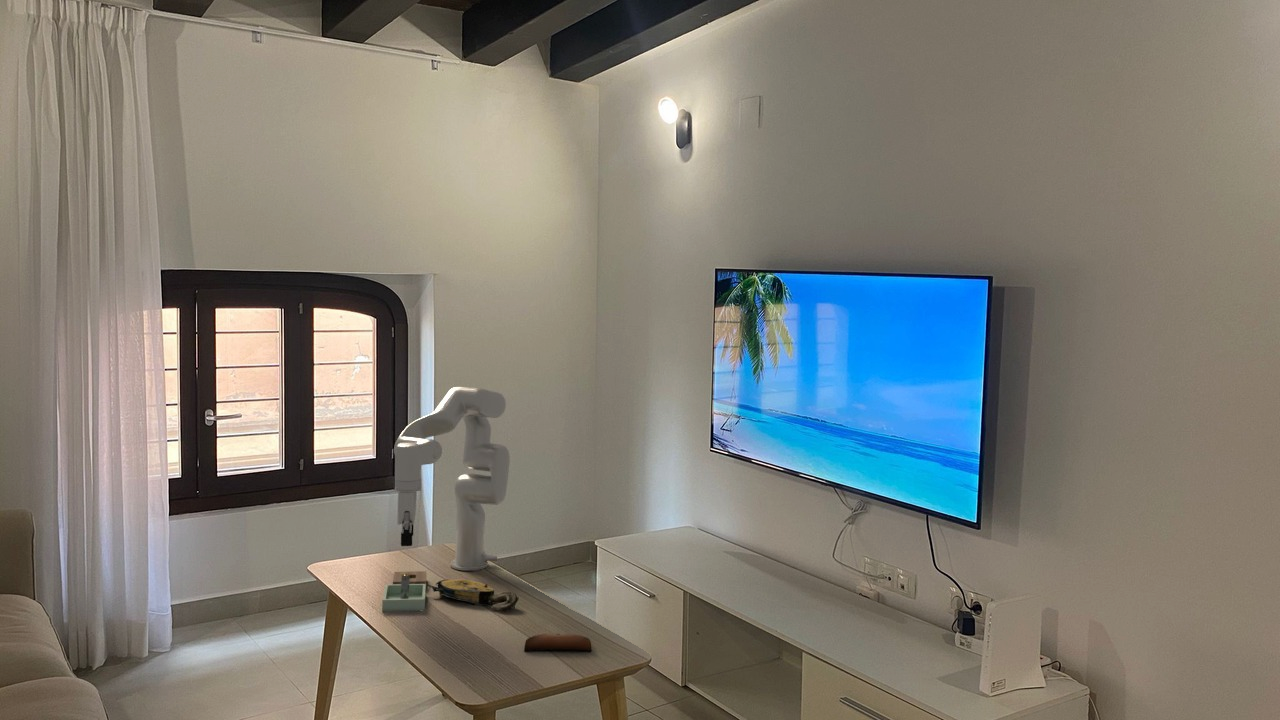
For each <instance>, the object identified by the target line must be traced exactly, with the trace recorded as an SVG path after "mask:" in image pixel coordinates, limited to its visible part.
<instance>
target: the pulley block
mask: <svg viewBox="0 0 1280 720" xmlns="http://www.w3.org/2000/svg"><path fill="white" fill-rule="evenodd" d="M427 587H428V588H431V589H432V592H438V593H439V594H438V595H439V596H440V597H442V596H445V597H447V598H449V599H453V600H458V601H463V602H466V603H472V605H481V606H485V607H486V606H491V609H492V610H495V611H500V612H506V611H510V610H513V609H515V608H516V605H517V603H518V601H519V596H517V594H516V593H515V592H513V591H503V592H498V593H495V588H493V587H491V586H490V585H488V584H487V583H486V584H484V583H481V582H478V581H474V580H470V579H465V578H464V579H462V578H455V579H440V580H439V581H437V582H436V583H435V586H434V585H431V584H428V585H427ZM494 603H495V604H494Z"/></svg>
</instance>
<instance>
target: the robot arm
mask: <svg viewBox="0 0 1280 720" xmlns="http://www.w3.org/2000/svg"><path fill="white" fill-rule="evenodd" d="M506 405H507V403H506V398H505V397H504V395H503V394H502V393H500V392H498V391H493V390H488V389H484V388H481V387H480V388H479V387H471V386H469V387H468V386H454V387H452V388H450V389H449V390H448V391H447V393H446V394H445V395H444V396H443V398H442V399H441V400H440V402H439V403H438V405H437V406H436V407H435V409H434V410H433V412H431V413H429V414H427V415H424V416H423V417H420V418H418V419H416V420H414V421H413V422H411V423H410V424H408V425H406V427H405V428H404V430H402V432H401V433H400V435H399V436H398V437H397V440H396V441H395V443H394V448H393V454H394V459H395V460H394V491H395V492H397V518H396V519H397V522H396V523H397V525H398V526H400V525H401V532H400V546H401V547H412V546H413V536H414V524H415V519H416V514H417V500H418V499H417V492H420V491H421V490H422V466H425V465H432V464H435V463H437V462H438V461H439V459H440V458H441V456H442V454H443V448H442V445H441V443H440V442H439V441H437V440H435V439H430V438H432V437H436V436H442V435H445V434H448V433H451V432H453V431H454V430H455V428H457V425H458V424H459V423H460V421H461V420H462V419H463V421H464V426H465V432H464V433H465V435H464V442H463V453H462V463H463V466H464V467H465V468H466V469H470V470H473V471H481V472H489V473H490V475H486V474H478V473H463V474H461V475H459V476H458V477H457V478H456V480H455V482H454V495H455V502H456V503H455V504H456V526H455V527H456V529H455V552H454V553H455V556H454V559H452V560H451V561H450V567H451V568H452V569H455V570H456V571H457V570H458V571H462V572H463V571H464V572H465V571H466V572H467V571H468V572H471V571H479V570H480V569H481V570H484V569H486V568H487V567H488V566H489V562H497V561H498V555H497V554H495V555H494V554H493V553H487V552H486V551H485V531H486V530H485V529H486V528H485V527H486V513H485V509H484V508H483V505H489V506H499V505H501V504H503V502H504V500H505V498H506V495H507V494H506V493H507V489H508V488H507V487H508V480H509V471H510V462H511V459H510V457H511V456H510V452H509V449H508V448H507V446H505V445H503V444H500V443H492V442H491V435H492V427H491V424H490V422H489V420H488V418H491V419H498V418H500V417H501V416H502V415H503V414H504V412H505V411H506V407H507V406H506ZM487 561H488V562H487ZM481 570H480V571H481Z"/></svg>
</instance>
